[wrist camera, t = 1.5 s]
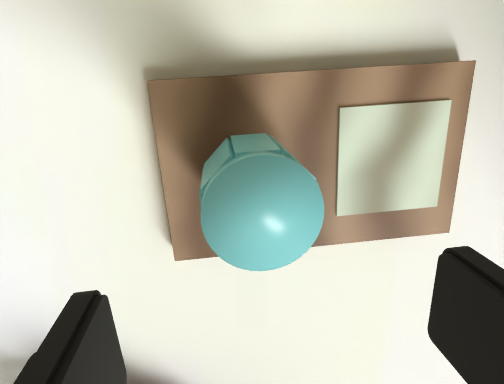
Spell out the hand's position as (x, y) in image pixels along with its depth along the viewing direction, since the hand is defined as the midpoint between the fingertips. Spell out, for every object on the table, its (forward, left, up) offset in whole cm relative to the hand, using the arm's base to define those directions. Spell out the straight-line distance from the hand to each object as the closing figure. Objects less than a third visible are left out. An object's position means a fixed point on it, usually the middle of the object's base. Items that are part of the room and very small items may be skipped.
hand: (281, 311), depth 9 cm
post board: (-5, 0, -17) cm, 17 cm away
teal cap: (0, 0, -13) cm, 13 cm away
